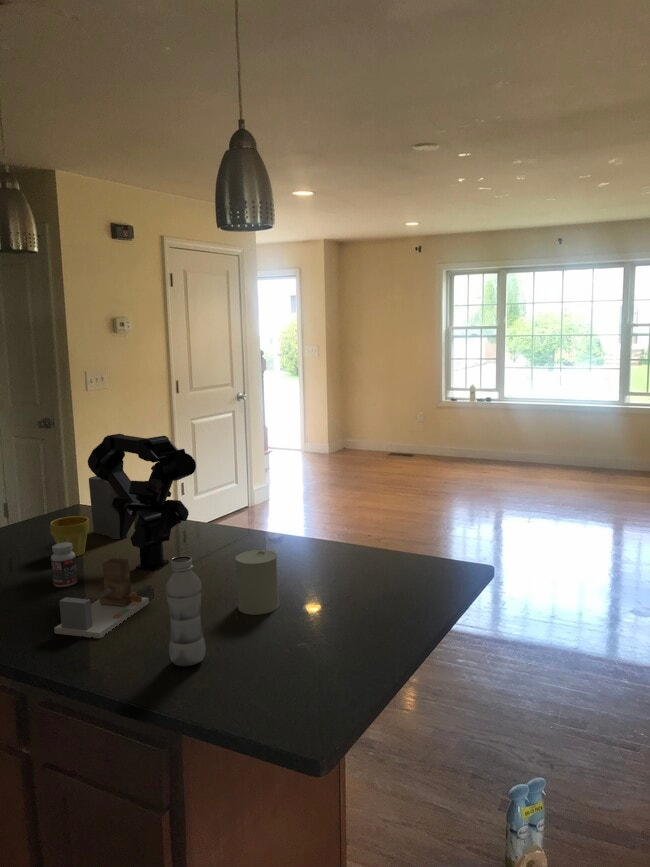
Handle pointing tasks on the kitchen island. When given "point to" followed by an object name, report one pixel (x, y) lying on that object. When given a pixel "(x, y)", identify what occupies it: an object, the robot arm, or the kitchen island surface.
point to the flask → (104, 508)
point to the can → (257, 582)
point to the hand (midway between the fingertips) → (137, 540)
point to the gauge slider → (117, 583)
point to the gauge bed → (93, 616)
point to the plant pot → (71, 532)
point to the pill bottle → (63, 565)
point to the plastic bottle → (185, 613)
